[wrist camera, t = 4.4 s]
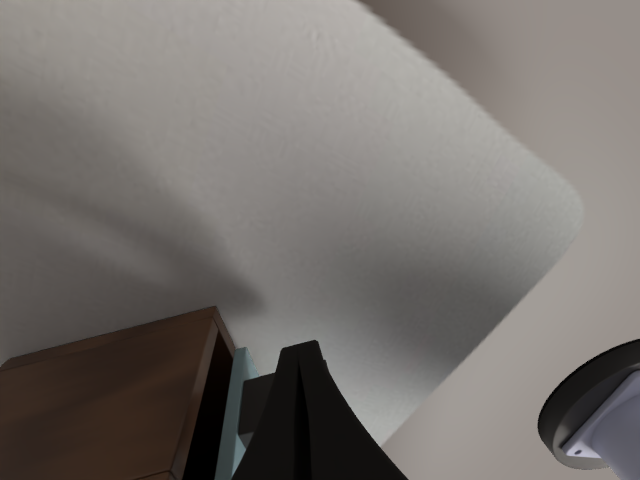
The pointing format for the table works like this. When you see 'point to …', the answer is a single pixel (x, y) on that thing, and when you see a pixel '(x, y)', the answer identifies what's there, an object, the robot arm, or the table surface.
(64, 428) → the cabinet
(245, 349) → the glass door
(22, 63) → the table surface
